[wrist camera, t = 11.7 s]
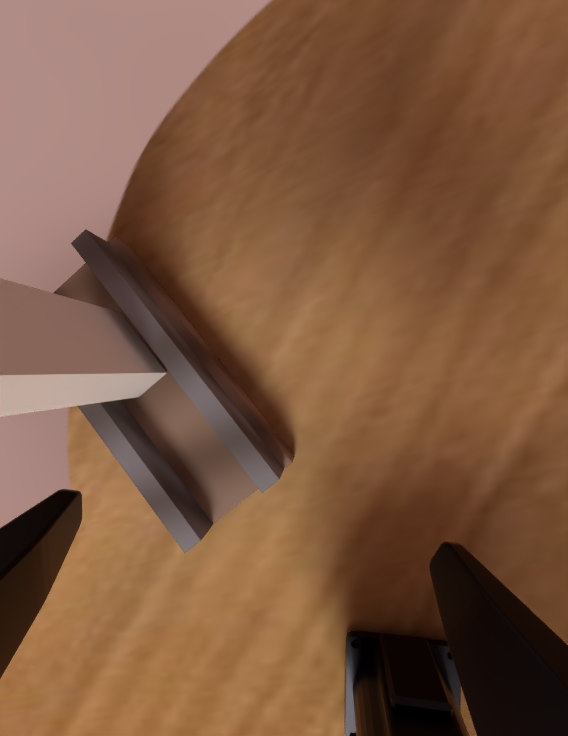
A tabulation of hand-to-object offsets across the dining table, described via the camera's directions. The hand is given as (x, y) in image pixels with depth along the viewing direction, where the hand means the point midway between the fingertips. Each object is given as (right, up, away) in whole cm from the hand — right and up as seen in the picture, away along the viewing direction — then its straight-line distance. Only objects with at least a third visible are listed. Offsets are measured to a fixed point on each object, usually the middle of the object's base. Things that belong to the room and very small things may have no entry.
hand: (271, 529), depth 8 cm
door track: (-8, +3, +14) cm, 16 cm away
